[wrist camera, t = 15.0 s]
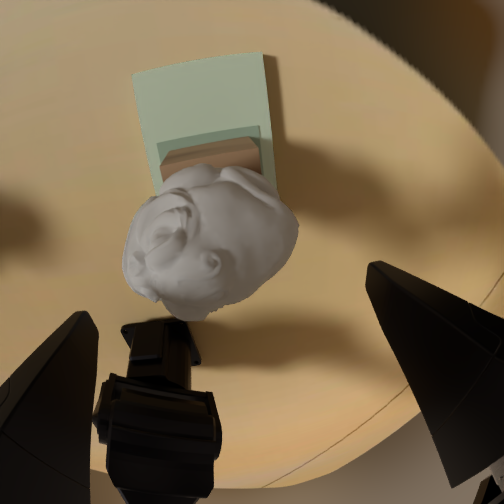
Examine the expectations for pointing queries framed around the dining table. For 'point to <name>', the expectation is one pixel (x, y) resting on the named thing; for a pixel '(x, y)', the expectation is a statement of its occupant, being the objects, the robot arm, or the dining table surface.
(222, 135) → the base board
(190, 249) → the grey lumpy rounded piece
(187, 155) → the walnut block
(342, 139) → the dining table surface
